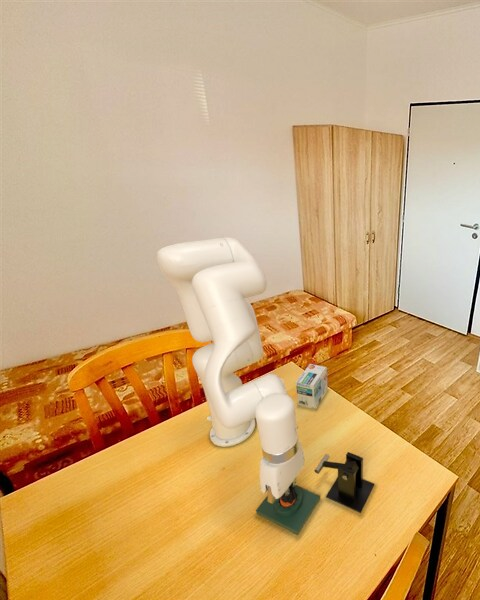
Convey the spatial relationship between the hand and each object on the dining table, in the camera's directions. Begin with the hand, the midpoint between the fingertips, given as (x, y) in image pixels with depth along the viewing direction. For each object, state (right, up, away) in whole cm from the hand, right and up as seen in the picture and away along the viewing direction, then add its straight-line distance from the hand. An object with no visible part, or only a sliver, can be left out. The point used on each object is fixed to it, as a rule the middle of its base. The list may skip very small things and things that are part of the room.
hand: (288, 498), depth 77 cm
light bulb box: (-4, +13, +36) cm, 39 cm away
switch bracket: (+14, -3, +6) cm, 16 cm away
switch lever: (+11, +5, +4) cm, 13 cm away
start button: (0, -2, +1) cm, 2 cm away
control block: (0, -4, +2) cm, 4 cm away
